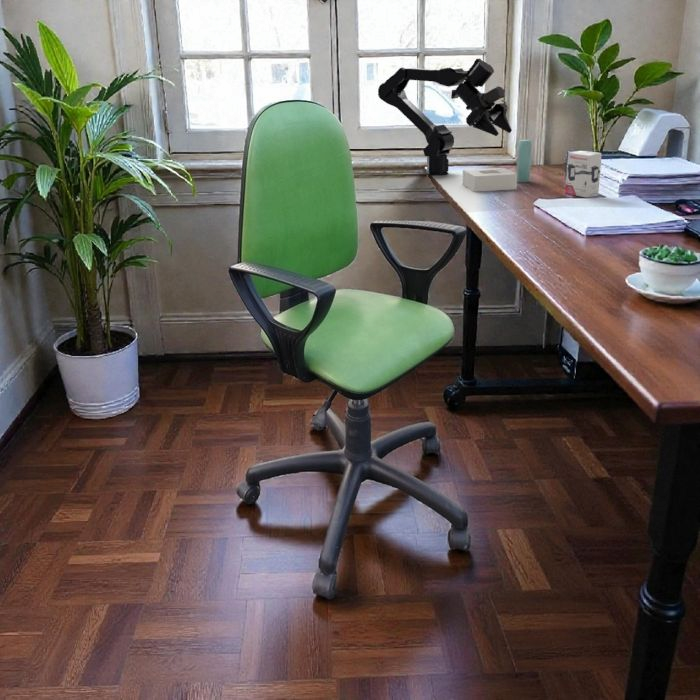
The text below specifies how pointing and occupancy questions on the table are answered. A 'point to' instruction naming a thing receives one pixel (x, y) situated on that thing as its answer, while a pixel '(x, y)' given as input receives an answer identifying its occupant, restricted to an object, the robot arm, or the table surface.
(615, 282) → the table surface
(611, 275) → the table surface
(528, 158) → the pin
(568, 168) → the ink box
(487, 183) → the socket block
